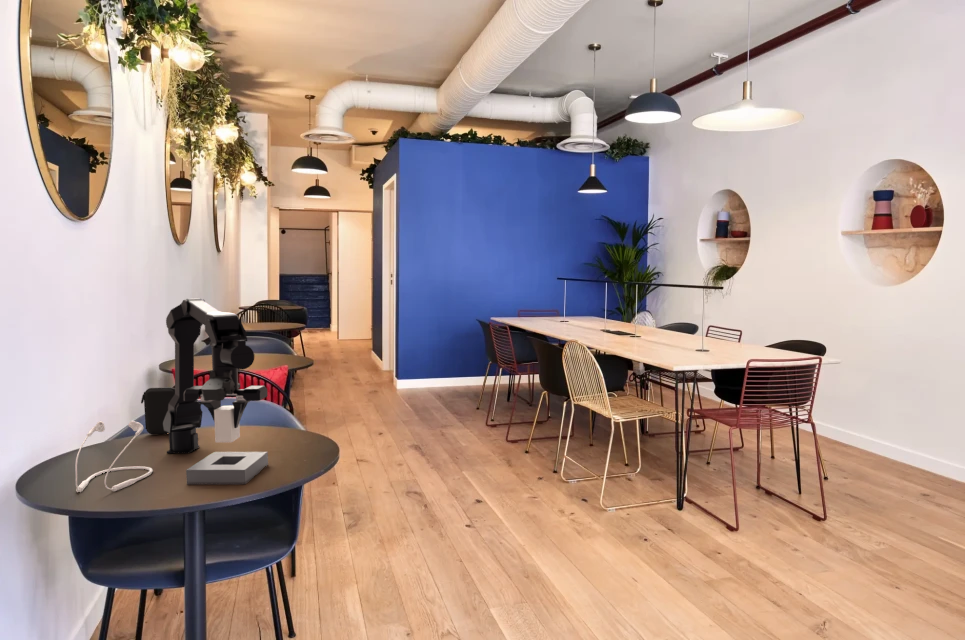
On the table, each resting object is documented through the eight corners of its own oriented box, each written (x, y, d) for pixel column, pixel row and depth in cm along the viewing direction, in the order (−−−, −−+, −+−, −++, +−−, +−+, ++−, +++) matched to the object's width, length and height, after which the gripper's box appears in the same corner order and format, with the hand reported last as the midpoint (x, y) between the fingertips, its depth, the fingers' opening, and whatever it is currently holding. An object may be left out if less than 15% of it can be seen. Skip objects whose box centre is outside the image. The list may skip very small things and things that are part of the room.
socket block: (186, 484, 150) (186, 469, 150) (214, 465, 165) (214, 451, 165) (245, 484, 150) (244, 469, 150) (268, 465, 165) (267, 451, 165)
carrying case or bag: (140, 436, 195) (138, 389, 194) (145, 433, 198) (142, 387, 197) (177, 435, 196) (174, 388, 195) (180, 432, 199) (178, 386, 198)
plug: (215, 442, 155) (214, 409, 154) (226, 435, 161) (225, 404, 160) (231, 442, 154) (230, 409, 154) (242, 435, 161) (241, 404, 160)
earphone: (54, 482, 141) (86, 416, 154) (85, 519, 153) (112, 455, 166) (118, 480, 142) (144, 415, 155) (143, 517, 154) (165, 453, 166)
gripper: (170, 370, 148) (173, 436, 149) (249, 370, 147) (252, 436, 149) (193, 363, 159) (195, 424, 160) (267, 363, 158) (269, 424, 160)
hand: (227, 427), depth 157 cm, fingers closed on plug, 4 cm apart
